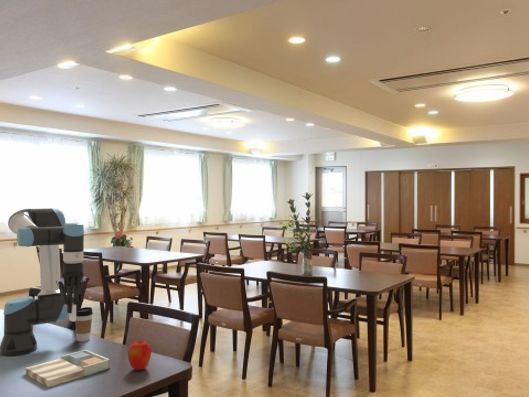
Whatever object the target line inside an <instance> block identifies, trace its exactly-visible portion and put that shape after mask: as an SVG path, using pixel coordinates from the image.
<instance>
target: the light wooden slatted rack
mask: <svg viewBox="0 0 529 397" xmlns="http://www.w3.org/2000/svg"><path fill="white" fill-rule="evenodd" d="M25 375H27V376H28V377H29V378H31V379H33V380H35V381H37V382H39V383H40V384H41V385H43V386H45V387H47V388H51V387H53V386H56V385H59V384H63V383H67V382H69V381H72V380H76V379H79V378H82V377H85V376H84V369H82V368H80V367H78V366H76V365H74V364H71V363H69V362H67V361H65V360H63V359H61V358H58V359H54V360H50V361H46V362H42V363H39V364H35V365H31V366H27V367H25ZM50 386H51V387H50Z"/></svg>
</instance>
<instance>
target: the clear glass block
mask: <svg viewBox="0 0 529 397" xmlns="http://www.w3.org/2000/svg"><path fill="white" fill-rule="evenodd" d="M86 359H90V355H89V354H87V353H84V352H80V353H76V354H72V355H69V363H71V364H74V365H76V366H78V365H81V361H83V360H86Z"/></svg>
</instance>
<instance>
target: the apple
mask: <svg viewBox="0 0 529 397" xmlns="http://www.w3.org/2000/svg"><path fill="white" fill-rule="evenodd" d="M127 356H128V362H129V364H130V367H131V368H132V369H134V370H135V371H137V370H140V371H143V370H142V369H144V370H145V369H146V368H147V367H148V366H149V363H150V360H151V356H152V348H151V345H150V344H149V343H148V342H147V341H145V340H143V341H142V340H137V341H133V342H132V343H131V344H130V345H129V347H128V349H127Z"/></svg>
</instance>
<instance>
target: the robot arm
mask: <svg viewBox="0 0 529 397" xmlns="http://www.w3.org/2000/svg"><path fill="white" fill-rule="evenodd" d="M7 226H8V228H9V230H10V231H11V232H12V233H14V234H16V242H17V245H18V247H26V248H29V247H39V268H40V269H39V274H40V275H39V276H40V291H39V292H38V294H37V298H35V299H34V297H33V296H31V295H29V296H27V295H26V296H20V297H15V298H13V299H10V300H8V301H6V302H5V304H4V307H3V336H2V340H1V342H0V355H2V356H5V357H8V356H9V357H11V356H15V357H16V356H21V355H27V354H30V353H33V352H34V351H36V350H37V349H38V341H37V339H36V335H35V333H34V326H37V325H45V324H53V323H58V322H63V321H65V320H66V319H67V317H68V321H70V322H75V321H76V312H78V309H79V306H80V303H82V302H84V298H85V294H86V289H87V285H88V282H90V277H86V276H85V273H84V262H83V261H84V248H85V246H84V245H85V243H84V242H85V240H84V239H85V238H84V236H85V229H84V224H83V223H82V222H66V217H65V215H64V212H63V211H62V210H61V209H59V208H52V207H51V208H25V209H21V210H17V211H16V212H14V213H13V214H12V215H10V217H9V219H8V221H7ZM62 245H63V247H62V248H63V249H62V251H63V252H62V255H63V256H62V257H63V258H62V260H63V264H62V276H61V264H60V263H61V261H60V260H61V259H60V257H61V256H60V246H62ZM65 285H66V288H65Z"/></svg>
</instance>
